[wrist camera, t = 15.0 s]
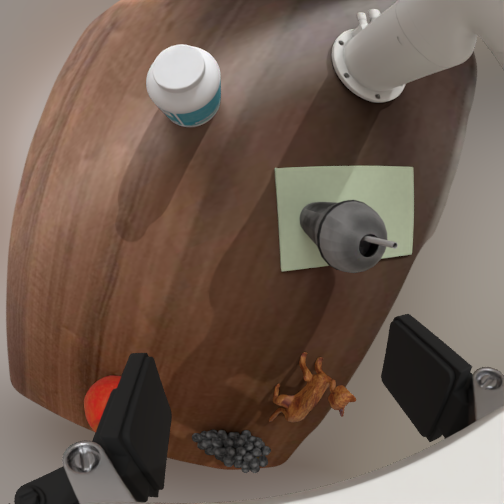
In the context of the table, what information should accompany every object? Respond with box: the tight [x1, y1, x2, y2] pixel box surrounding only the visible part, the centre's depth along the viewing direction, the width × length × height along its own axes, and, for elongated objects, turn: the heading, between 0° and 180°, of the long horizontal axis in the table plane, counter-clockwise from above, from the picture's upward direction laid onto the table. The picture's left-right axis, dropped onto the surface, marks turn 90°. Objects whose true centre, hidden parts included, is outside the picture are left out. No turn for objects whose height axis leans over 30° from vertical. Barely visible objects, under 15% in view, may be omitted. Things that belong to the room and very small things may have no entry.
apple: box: [84, 375, 121, 432], centre depth 39 cm, size 11×11×11 cm
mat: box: [275, 166, 414, 271], centre depth 40 cm, size 14×22×1 cm, turn 95°
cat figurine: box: [269, 352, 356, 422], centre depth 40 cm, size 18×7×14 cm, turn 154°
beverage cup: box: [299, 200, 398, 273], centre depth 29 cm, size 7×7×20 cm
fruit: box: [192, 430, 271, 473], centre depth 45 cm, size 9×8×15 cm
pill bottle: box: [146, 45, 221, 127], centre depth 27 cm, size 8×7×14 cm
